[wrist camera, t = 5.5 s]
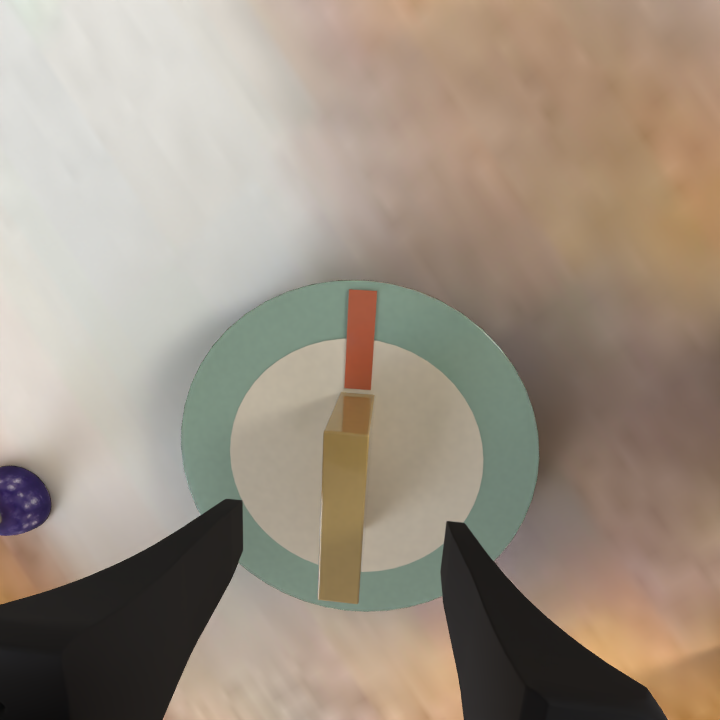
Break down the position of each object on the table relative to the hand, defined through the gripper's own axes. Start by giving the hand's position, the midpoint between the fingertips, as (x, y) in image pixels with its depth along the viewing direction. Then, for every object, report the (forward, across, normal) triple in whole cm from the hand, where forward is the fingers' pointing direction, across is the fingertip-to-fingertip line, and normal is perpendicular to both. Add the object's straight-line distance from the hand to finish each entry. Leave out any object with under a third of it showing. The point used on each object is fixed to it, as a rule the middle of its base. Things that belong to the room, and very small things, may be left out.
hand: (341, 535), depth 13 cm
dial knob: (+6, 0, 0) cm, 6 cm away
